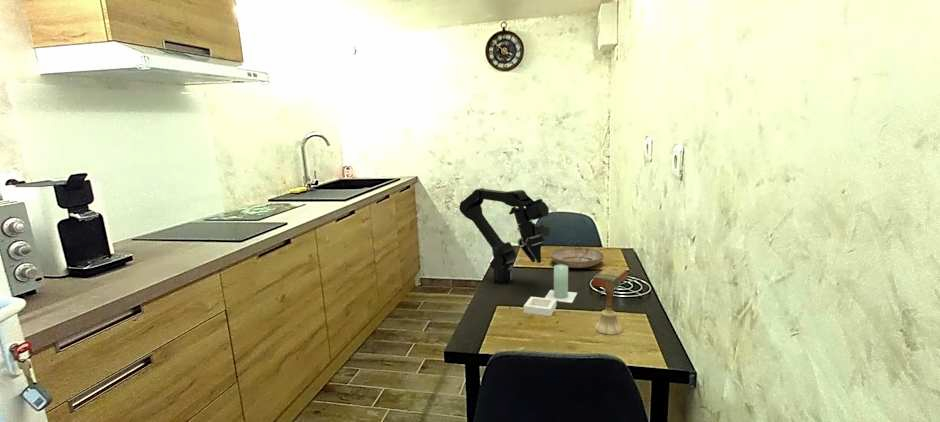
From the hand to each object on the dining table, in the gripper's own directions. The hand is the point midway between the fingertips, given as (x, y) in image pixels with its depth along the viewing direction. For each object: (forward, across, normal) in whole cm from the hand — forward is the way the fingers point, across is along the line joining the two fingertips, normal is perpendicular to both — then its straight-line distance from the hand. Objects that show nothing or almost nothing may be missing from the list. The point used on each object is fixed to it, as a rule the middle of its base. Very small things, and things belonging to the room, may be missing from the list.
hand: (536, 262), depth 177 cm
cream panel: (+14, -7, -3) cm, 16 cm away
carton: (+17, +6, -27) cm, 32 cm away
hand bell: (+23, -33, -8) cm, 41 cm away
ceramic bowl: (+9, +30, -24) cm, 40 cm away
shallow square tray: (+14, -17, +8) cm, 23 cm away
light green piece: (+13, -7, -3) cm, 15 cm away
